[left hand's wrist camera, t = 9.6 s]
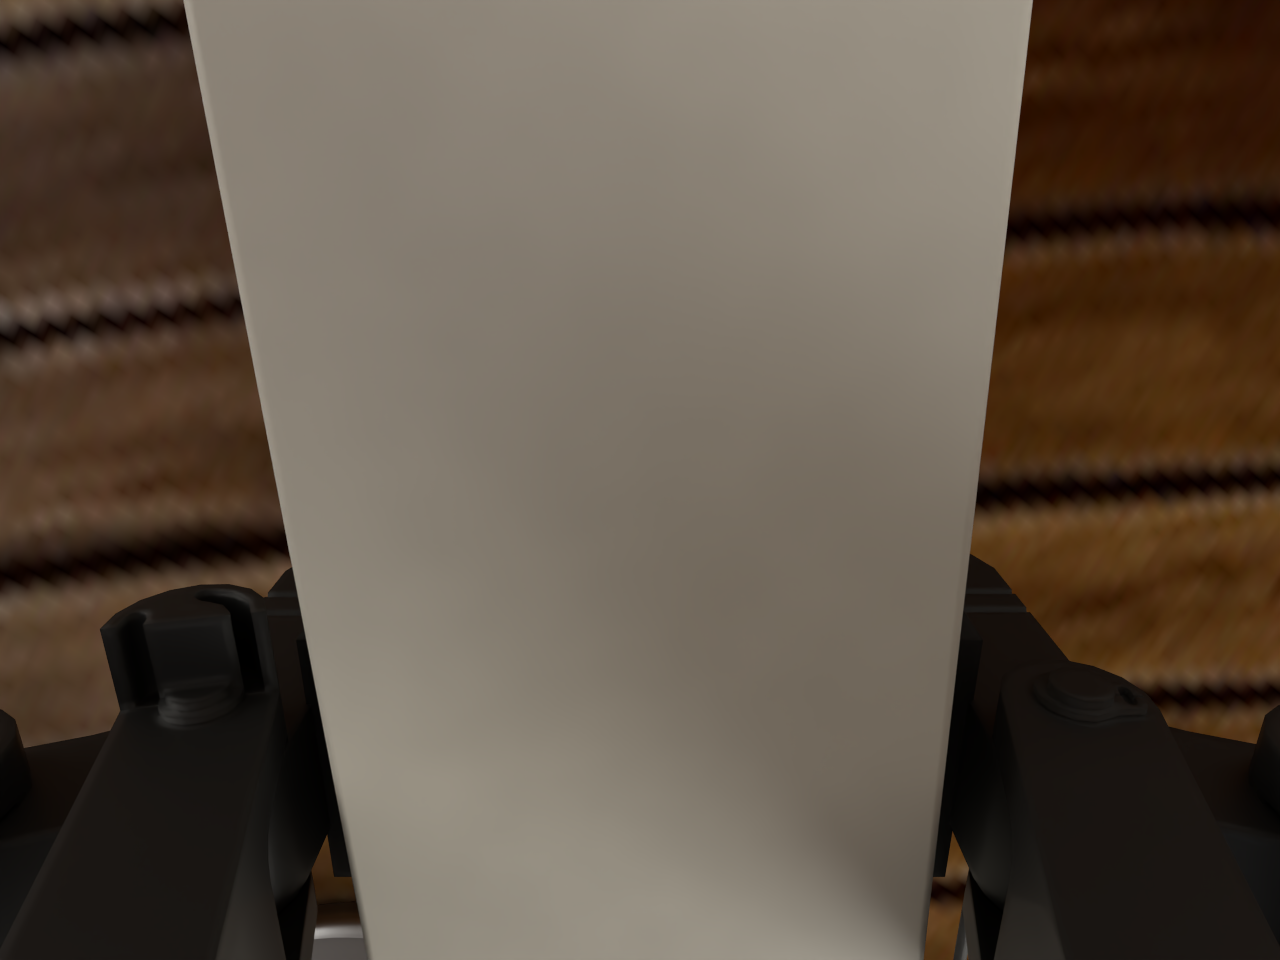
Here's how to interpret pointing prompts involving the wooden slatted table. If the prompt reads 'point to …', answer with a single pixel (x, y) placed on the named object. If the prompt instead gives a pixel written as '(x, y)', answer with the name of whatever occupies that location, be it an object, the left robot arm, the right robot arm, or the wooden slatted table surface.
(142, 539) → the wooden slatted table surface
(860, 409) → the bar
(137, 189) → the wooden slatted table surface
